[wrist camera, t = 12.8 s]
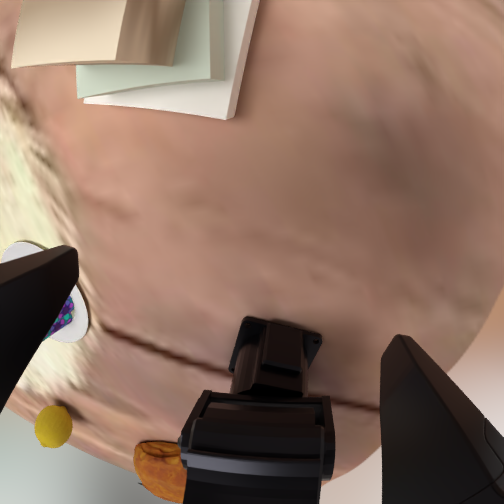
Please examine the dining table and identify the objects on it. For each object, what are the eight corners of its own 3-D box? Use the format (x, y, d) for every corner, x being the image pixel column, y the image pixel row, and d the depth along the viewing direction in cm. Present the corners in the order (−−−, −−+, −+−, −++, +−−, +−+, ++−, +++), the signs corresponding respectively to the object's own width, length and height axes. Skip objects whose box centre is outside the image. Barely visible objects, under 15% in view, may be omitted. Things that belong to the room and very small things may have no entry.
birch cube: (172, 66, 12) (114, 60, 8) (81, 65, 12) (11, 68, 8) (193, -31, 10) (149, -75, 5) (100, -24, 10) (36, -47, 5)
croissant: (239, 471, 44) (239, 513, 37) (150, 469, 45) (144, 508, 37) (223, 433, 37) (221, 486, 30) (116, 429, 38) (104, 476, 31)
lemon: (57, 410, 40) (36, 447, 33) (45, 390, 37) (20, 428, 30) (84, 422, 39) (64, 461, 32) (73, 402, 37) (50, 444, 30)
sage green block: (224, 80, 15) (210, 78, 12) (107, 95, 16) (77, 98, 13) (223, -35, 12) (209, -56, 9) (106, -10, 12) (78, -21, 10)
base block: (235, 116, 18) (225, 119, 16) (108, 99, 19) (83, 103, 16) (265, -16, 14) (260, -33, 12) (131, -20, 14) (110, -31, 12)
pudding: (92, 264, 25) (58, 300, 20) (93, 353, 31) (71, 388, 26) (0, 222, 24) (-36, 246, 20) (13, 311, 30) (-12, 337, 25)
